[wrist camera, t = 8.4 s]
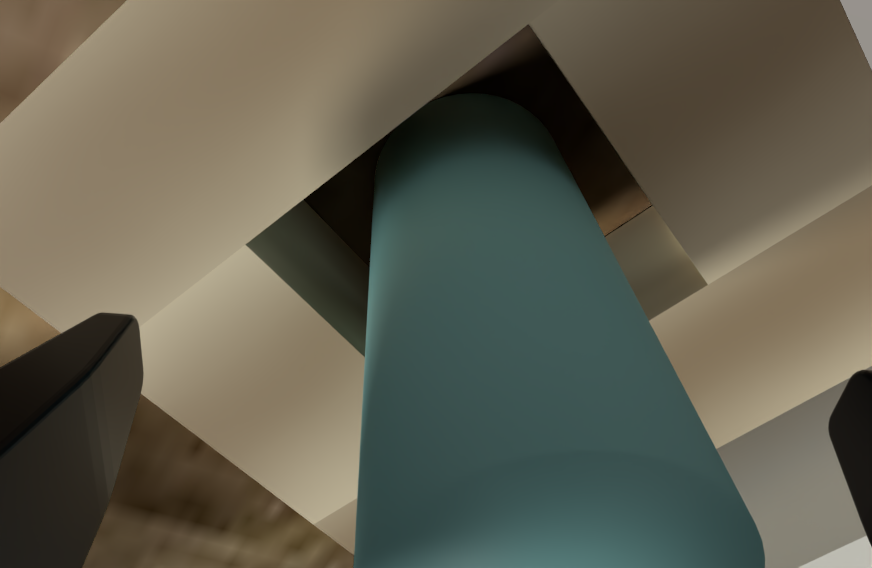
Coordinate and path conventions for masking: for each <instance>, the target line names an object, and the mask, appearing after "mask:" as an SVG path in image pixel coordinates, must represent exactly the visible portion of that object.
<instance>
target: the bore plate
mask: <svg viewBox="0 0 872 568" xmlns="http://www.w3.org/2000/svg"><path fill="white" fill-rule="evenodd" d="M528 24H529V26H530V27H531V29H532V30H533V31H534V33H535V34H536V36H537V37H538V39H539V40H540V42H541V43H542V45H543V46H544V48H545V49H546V50H547V52H548V53H549V55H550V56H551V58H552V59H553V61H554V62H555V64H556V65H557V67H558V68H559V69H560V71H561V72H562V74H563V75H564V77H565V78H566V80H567V81H568V83H569V84H570V85H571V87H572V88H573V90H574V91H575V93H576V94H577V96H578V97H579V99H580V100H581V102H582V103H583V104H584V106H585V107H586V109H587V110H588V112H589V113H590V115H591V116H592V118H593V119H594V121H595V122H596V123H597V125H598V126H599V128H600V129H601V131H602V132H603V134H604V135H605V137H606V138H607V139H608V141H609V142H610V144H611V145H612V147H613V148H614V150H615V151H616V153H617V154H618V156H619V157H620V158H621V160H622V161H623V163H624V164H625V166H626V167H627V169H628V170H629V172H630V173H631V175H632V176H633V177H634V179H635V180H636V182H637V183H638V185H639V186H640V188H641V189H642V191H643V192H644V193H645V195H646V196H647V198H648V199H649V201H650V202H651V204H652V205H653V206H651V207H650V208H648V209H647V210H645V211H644V212H642V213H641V214H639V215H638V216H636V217H635V218H633V219H632V220H630V221H629V222H627V223H625V224H624V225H622V226H621V227H619V228H618V229H616V230H615V231H613V232H612V233H610V234H609V235H607V236H606V237H605V238H606V240H607V242H608V244H609V246H610V248H611V250H612V252H613V254H614V256H615V257H616V259H617V261H618V263H619V265H620V267H621V269H622V271H623V273H624V275H625V276H626V278H627V280H628V282H629V284H630V286H631V288H632V290H633V292H634V294H635V296H636V297H637V299H638V301H639V303H640V305H641V307H642V309H643V311H644V313H645V315H646V316H647V318H648V320H649V322H650V324H651V326H652V328H653V330H654V332H655V334H656V335H657V337H658V339H659V341H660V343H661V345H662V347H663V349H664V351H665V353H666V354H667V356H668V358H669V360H670V362H671V364H672V366H673V368H674V370H675V372H676V374H677V375H678V377H679V379H680V381H681V383H682V385H683V387H684V389H685V391H686V393H687V394H688V396H689V398H690V400H691V402H692V404H693V406H694V408H695V410H696V412H697V413H698V415H699V417H700V419H701V421H702V423H703V425H704V427H705V429H706V431H707V432H708V434H709V436H710V438H711V440H712V442H713V444H714V446H715V448H716V449H717V448H719V447H721V446H723V445H725V444H727V443H729V442H731V441H732V440H734V439H736V438H738V437H740V436H742V435H744V434H745V433H747V432H749V431H751V430H753V429H755V428H757V427H759V426H760V425H762V424H764V423H766V422H768V421H770V420H772V419H774V418H775V417H777V416H779V415H781V414H783V413H785V412H787V411H788V410H790V409H792V408H794V407H796V406H798V405H800V404H802V403H803V402H805V401H807V400H809V399H811V398H813V397H815V396H816V395H818V394H820V393H822V392H824V391H826V390H828V389H830V388H831V387H833V386H835V385H837V384H839V383H841V382H843V381H845V380H846V379H848V378H850V377H851V376H852V375H853V374H854V373H856V372H857V371H860V370H865V369H867V368H869V367H871V366H872V70H871V68H870V66H869V64H868V61H867V59H866V57H865V55H864V53H863V50H862V48H861V46H860V44H859V42H858V39H857V37H856V35H855V33H854V30H853V28H852V26H851V24H850V22H849V20H848V17H847V15H846V13H845V11H844V8H843V6H842V4H841V2H840V0H127V1H126V2H125V3H124V4H123V5H122V6H121V7H120V8H119V9H118V10H117V11H116V12H115V13H113V14H112V15H111V16H110V17H109V18H108V19H107V20H106V21H105V22H104V23H103V24H102V25H101V26H100V27H99V28H98V29H97V30H96V31H95V32H94V33H93V34H92V35H91V36H90V37H89V38H88V39H87V40H86V41H85V42H84V43H83V44H82V45H81V46H80V47H79V48H77V49H76V50H75V51H74V52H73V53H72V54H71V55H70V56H69V57H68V58H67V59H66V60H65V61H64V62H63V63H62V64H61V65H60V66H59V67H58V68H57V69H56V70H55V71H54V72H53V73H52V74H51V75H50V76H49V77H48V78H47V79H46V80H45V81H44V82H42V83H41V84H40V85H39V86H38V87H37V88H36V89H35V90H34V91H33V92H32V93H31V94H30V95H29V96H28V97H27V98H26V99H25V100H24V101H23V102H22V103H21V104H20V105H19V106H18V107H17V108H16V109H15V110H14V111H13V112H12V113H11V114H10V115H9V116H8V117H6V118H5V119H4V120H3V121H2V122H1V123H0V287H1V288H3V289H4V290H5V291H7V292H8V293H9V294H10V295H12V296H13V297H14V298H16V299H17V300H18V301H20V302H21V303H22V304H24V305H25V306H26V307H28V308H29V309H30V310H32V311H33V312H34V313H35V314H37V315H38V316H39V317H41V318H42V319H43V320H45V321H46V322H47V323H49V324H50V325H51V326H53V327H54V328H55V329H57V330H58V331H59V332H61V333H63V332H64V331H66V330H68V329H70V328H72V327H73V326H75V325H77V324H79V323H80V322H82V321H84V320H86V319H88V318H89V317H91V316H93V315H95V314H97V313H101V312H106V313H119V314H131V315H133V316H135V318H136V319H137V321H138V323H139V329H140V339H141V350H142V360H143V372H144V374H143V385H142V391H141V394H142V395H143V396H145V397H146V398H147V399H149V400H150V401H151V402H153V403H154V404H155V405H157V406H158V407H159V408H161V409H162V410H163V411H164V412H166V413H167V414H168V415H170V416H171V417H172V418H174V419H175V420H176V421H178V422H179V423H180V424H182V425H183V426H184V427H186V428H187V429H188V430H189V431H191V432H192V433H193V434H195V435H196V436H197V437H199V438H200V439H201V440H203V441H204V442H205V443H207V444H208V445H209V446H211V447H212V448H213V449H215V450H216V451H217V452H218V453H220V454H221V455H222V456H224V457H225V458H226V459H228V460H229V461H230V462H232V463H233V464H234V465H236V466H237V467H238V468H240V469H241V470H242V471H243V472H245V473H246V474H247V475H249V476H250V477H251V478H253V479H254V480H255V481H257V482H258V483H259V484H261V485H262V486H263V487H265V488H266V489H267V490H268V491H270V492H271V493H272V494H274V495H275V496H276V497H278V498H279V499H280V500H282V501H283V502H284V503H286V504H287V505H288V506H290V507H291V508H292V509H293V510H295V511H296V512H297V513H299V514H300V515H301V516H303V517H304V518H305V519H307V520H308V521H309V522H311V523H312V524H313V525H315V526H316V527H317V528H318V529H320V530H321V531H322V532H324V533H325V534H326V535H328V536H329V537H330V538H332V539H333V540H334V541H336V542H337V543H338V544H340V545H341V546H342V547H344V548H345V549H346V550H347V551H349V552H350V553H351V554H353V555H354V549H355V530H356V512H357V494H358V475H359V457H360V438H361V420H362V402H363V383H364V365H365V346H366V328H367V309H368V291H369V273H370V268H369V267H368V266H367V265H366V264H365V263H364V262H363V261H362V260H361V259H360V257H359V256H358V255H357V254H356V253H355V252H354V251H353V250H352V249H351V248H350V247H349V246H348V245H347V244H346V243H345V242H344V241H343V240H342V239H341V238H340V237H339V236H338V235H337V234H336V233H335V232H334V231H333V230H332V229H331V228H330V227H329V226H328V225H327V224H326V222H325V221H324V220H323V219H322V218H321V217H320V216H319V215H318V214H317V213H316V212H315V211H314V210H313V209H312V208H311V207H310V206H309V205H308V204H307V203H306V202H305V201H304V200H303V199H304V198H306V197H307V196H308V195H310V194H311V193H312V192H313V191H315V190H316V189H317V188H319V187H320V186H321V185H322V184H324V183H325V182H326V181H328V180H329V179H330V178H331V177H333V176H334V175H335V174H337V173H338V172H339V171H340V170H342V169H343V168H344V167H346V166H347V165H348V164H349V163H351V162H352V161H353V160H355V159H356V158H357V157H358V156H360V155H361V154H362V153H364V152H365V151H366V150H367V149H369V148H370V147H371V146H372V145H374V144H375V143H376V142H378V141H379V140H380V139H381V138H383V137H384V136H385V135H387V134H388V133H389V132H390V131H392V130H393V129H394V128H396V127H397V126H398V125H399V124H401V123H402V122H403V121H405V120H406V119H407V118H408V117H410V116H411V115H412V114H414V113H415V112H416V111H417V110H419V109H420V108H421V107H423V106H424V105H425V104H426V103H428V102H429V101H430V100H431V99H433V98H434V97H435V96H437V95H438V94H439V93H440V92H442V91H443V90H444V89H446V88H447V87H448V86H449V85H451V84H452V83H453V82H455V81H456V80H457V79H458V78H460V77H461V76H462V75H464V74H465V73H466V72H467V71H469V70H470V69H471V68H473V67H474V66H475V65H476V64H478V63H479V62H480V61H482V60H483V59H484V58H485V57H487V56H488V55H489V54H491V53H492V52H493V51H494V50H496V49H497V48H498V47H499V46H501V45H502V44H503V43H505V42H506V41H507V40H508V39H510V38H511V37H512V36H514V35H515V34H516V33H517V32H519V31H520V30H521V29H523V28H524V27H525V26H526V25H528Z"/></svg>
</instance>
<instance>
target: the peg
mask: <svg viewBox="0 0 872 568" xmlns="http://www.w3.org/2000/svg"><path fill="white" fill-rule="evenodd" d="M353 568H765V554H764V548H763V542H762V539H761V536H760V534H759V531H758V529H757V526H756V524H755V522H754V520H753V518H752V516H751V514H750V512H749V510H748V509H747V507H746V505H745V503H744V501H743V499H742V497H741V495H740V493H739V491H738V490H737V488H736V486H735V484H734V482H733V480H732V478H731V476H730V474H729V472H728V471H727V469H726V467H725V465H724V463H723V461H722V459H721V457H720V455H719V453H718V452H717V450H716V448H715V446H714V444H713V442H712V440H711V438H710V436H709V434H708V432H707V431H706V429H705V427H704V425H703V423H702V421H701V419H700V417H699V415H698V413H697V412H696V410H695V408H694V406H693V404H692V402H691V400H690V398H689V396H688V394H687V393H686V391H685V389H684V387H683V385H682V383H681V381H680V379H679V377H678V375H677V374H676V372H675V370H674V368H673V366H672V364H671V362H670V360H669V358H668V356H667V354H666V353H665V351H664V349H663V347H662V345H661V343H660V341H659V339H658V337H657V335H656V334H655V332H654V330H653V328H652V326H651V324H650V322H649V320H648V318H647V316H646V315H645V313H644V311H643V309H642V307H641V305H640V303H639V301H638V299H637V297H636V296H635V294H634V292H633V290H632V288H631V286H630V284H629V282H628V280H627V278H626V276H625V275H624V273H623V271H622V269H621V267H620V265H619V263H618V261H617V259H616V257H615V256H614V254H613V252H612V250H611V248H610V246H609V244H608V242H607V240H606V238H605V237H604V235H603V233H602V231H601V229H600V227H599V225H598V223H597V221H596V219H595V218H594V216H593V214H592V212H591V210H590V208H589V206H588V204H587V202H586V200H585V198H584V197H583V195H582V193H581V191H580V189H579V187H578V185H577V183H576V181H575V179H574V178H573V176H572V174H571V172H570V170H569V168H568V166H567V164H566V162H565V160H564V159H563V157H562V155H561V153H560V151H559V149H558V147H557V145H556V143H555V141H554V140H553V138H552V136H551V135H550V133H549V131H548V130H547V128H546V127H545V126H544V125H543V124H542V123H541V121H540V120H539V119H538V118H536V117H535V116H534V115H533V114H532V113H531V112H530V111H528V110H526V109H525V108H523V107H522V106H520V105H519V104H516V103H514V102H512V101H510V100H508V99H505V98H502V97H498V96H494V95H489V94H482V93H465V94H456V95H451V96H446V97H443V98H440V99H437V100H434V101H432V102H430V103H428V104H426V105H424V106H423V107H421V108H420V109H419V110H417V111H416V112H415V113H414V114H412V115H411V116H410V117H408V118H407V119H406V120H405V121H403V122H402V123H401V124H399V125H398V126H397V127H396V129H395V130H394V131H393V132H392V133H391V135H390V136H389V138H388V140H387V141H386V143H385V145H384V147H383V149H382V151H381V153H380V156H379V159H378V162H377V166H376V172H375V181H374V199H373V217H372V236H371V254H370V273H369V291H368V309H367V328H366V346H365V365H364V383H363V402H362V420H361V438H360V457H359V475H358V494H357V512H356V530H355V549H354V567H353Z"/></svg>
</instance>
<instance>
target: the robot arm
mask: <svg viewBox="0 0 872 568" xmlns="http://www.w3.org/2000/svg"><path fill="white" fill-rule="evenodd" d="M143 374H144V372H143V360H142V350H141V339H140V329H139V323H138V321H137V319H136V318H135V316H133V315H131V314H119V313H106V312H101V313H97V314H95V315H93V316H91V317H89V318H88V319H86V320H84V321H82V322H80V323H79V324H77V325H75V326H73V327H72V328H70V329H68V330H66V331H64V332H63V333H61V334H59V335H57V336H55V337H54V338H52V339H50V340H48V341H46V342H45V343H43V344H41V345H39V346H38V347H36V348H34V349H32V350H30V351H29V352H27V353H25V354H23V355H21V356H20V357H18V358H16V359H14V360H13V361H11V362H9V363H7V364H5V365H4V366H2V367H0V568H82V566H83V564H84V562H85V559H86V557H87V555H88V552H89V550H90V548H91V545H92V543H93V541H94V538H95V536H96V534H97V531H98V529H99V526H100V524H101V522H102V519H103V517H104V514H105V512H106V509H107V506H108V504H109V501H110V498H111V495H112V491H113V488H114V485H115V482H116V478H117V475H118V471H119V468H120V464H121V461H122V457H123V454H124V450H125V447H126V443H127V440H128V436H129V433H130V429H131V426H132V422H133V419H134V415H135V412H136V408H137V405H138V401H139V398H140V394H141V391H142V385H143ZM828 430H829V436H830V439H831V442H832V445H833V447H834V450H835V453H836V455H837V458H838V461H839V464H840V466H841V469H842V472H843V474H844V477H845V480H846V482H847V485H848V488H849V490H850V493H851V496H852V499H853V501H854V504H855V507H856V509H857V512H858V515H859V517H860V520H861V523H862V525H863V528H864V530H865V533H866V535H867V538H868V540H869V542H870V545H871V547H872V370H860V371H857V372H856V373H854V374H853V375H852V376H851V378H850V379H849V381H848V383H847V385H846V387H845V389H844V391H843V392H842V394H841V396H840V398H839V400H838V402H837V404H836V406H835V408H834V410H833V412H832V414H831V416H830V418H829V423H828Z"/></svg>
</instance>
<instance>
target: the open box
mask: <svg viewBox="0 0 872 568" xmlns="http://www.w3.org/2000/svg"><path fill="white" fill-rule="evenodd" d="M865 370H872V366H871V367H869V368H867V369H865ZM850 378H851V377H850ZM850 378H848V379H846V380H845V381H843V382H841V383H839V384H837V385H835V386H833V387H831V388H830V389H828V390H826V391H824V392H822V393H820V394H818V395H816V396H815V397H813V398H811V399H809V400H807V401H805V402H803V403H802V404H800V405H798V406H796V407H794V408H792V409H790V410H788V411H787V412H785V413H783V414H781V415H779V416H777V417H775V418H774V419H772V420H770V421H768V422H766V423H764V424H762V425H760V426H759V427H757V428H755V429H753V430H751V431H749V432H747V433H745V434H744V435H742V436H740V437H738V438H736V439H734V440H732V441H731V442H729V443H727V444H725V445H723V446H721V447H719V448H717V449H716V450H717V452H718V453H719V455H720V457H721V459H722V461H723V463H724V465H725V467H726V469H727V471H728V472H729V474H730V476H731V478H732V480H733V482H734V484H735V486H736V488H737V490H738V491H739V493H740V495H741V497H742V499H743V501H744V503H745V505H746V507H747V509H748V510H749V512H750V514H751V516H752V518H753V520H754V522H755V524H756V526H757V529H758V531H759V534H760V536H761V539H762V542H763V548H764V554H765V568H872V547H871V545H870V542H869V540H868V538H867V535H866V533H865V530H864V528H863V525H862V523H861V520H860V517H859V515H858V512H857V509H856V507H855V504H854V501H853V499H852V496H851V493H850V490H849V488H848V485H847V482H846V480H845V477H844V474H843V472H842V469H841V466H840V464H839V461H838V458H837V455H836V453H835V450H834V447H833V445H832V442H831V439H830V436H829V430H828V423H829V418H830V416H831V414H832V412H833V410H834V408H835V406H836V404H837V402H838V400H839V398H840V396H841V394H842V392H843V391H844V389H845V387H846V385H847V383H848V381H849V379H850Z"/></svg>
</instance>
